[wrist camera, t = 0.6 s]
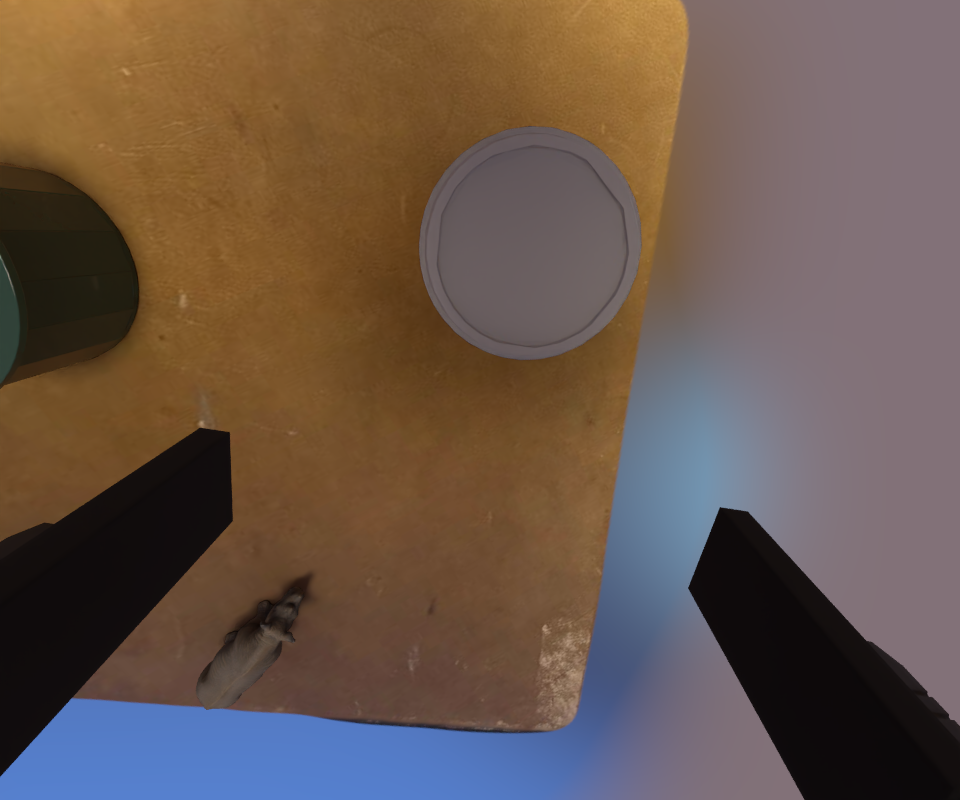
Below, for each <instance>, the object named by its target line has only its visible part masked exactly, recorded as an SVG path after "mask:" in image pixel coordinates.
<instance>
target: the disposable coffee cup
mask: <svg viewBox="0 0 960 800" xmlns="http://www.w3.org/2000/svg"><path fill="white" fill-rule="evenodd" d="M640 252H641V222H640V218H639V214H638V209H637V205H636V200H635V198H634V196H633V194H632V192H631V189H630V187H629V185H628V183H627V181H626V179H625V178H624V176H623V175H622V173H621V172H620V170H619V169H618V167H617V166H616V165H615V164H614V163H613V162H612V161H611V160H610V159H609V158H608V157H607V156H606V155H605V154H604V153H603V152H602V151H601V150H600V149H599V148H597V147H596V146H595V145H593V144H592V143H590V142H589V141H587V140H585V139H583V138H581V137H579V136H577V135H575V134H572V133H569V132H566V131H563V130H560V129H556V128H550V127H535V126H528V127H521V128H514V129H507V130H504V131H502V132H499V133H497V134H494V135H492V136H490V137H487V138H485V139H482V140H481V141H479V142H478V143H476V144H475V145H473V146H472V147H470V148H469V149H467V150H466V151H465V152H463V153H462V154H461V155H460V156H459V157H458V158H457V159H456V160H455V161H454V162H453V163H452V164H451V165H450V166H449V167H448V168H447V169H446V171H445V172H444V174H443V175H442V177H441V178H440V180H439V181H438V183H437V184H436V186H435V187H434V189H433V191H432V194H431V196H430V199H429V201H428V203H427V206H426V208H425V211H424V215H423V220H422V224H421V230H420V241H419V254H420V265H421V270H422V275H423V280H424V283H425V285H426V288H427V291H428V294H429V296H430V298H431V300H432V302H433V304H434V306H435V307H436V309H437V310H438V312H439V314H440V315H441V317H442V318H443V319H444V320H445V322H446V323H447V324H448V325H449V326H450V327H451V328H452V329H453V330H454V331H455V332H456V333H457V334H458V335H460V336H461V337H462V338H463V339H465V340H466V341H467V342H469V343H470V344H472V345H474V346H476V347H478V348H480V349H482V350H484V351H486V352H488V353H491V354H494V355H497V356H500V357H504V358H511V359H518V360H531V359H542V358H547V357H552V356H557V355H560V354H562V353H565V352H567V351H569V350H571V349H574V348H576V347H578V346H580V345H582V344H584V343H585V342H586V341H588V340H589V339H591V338H592V337H593V336H595V335H596V334H597V333H599V332H600V331H601V330H602V329H603V328H604V327H605V326H606V325H607V324H608V323H609V322H610V321H611V320H612V319H613V318H614V317H615V315H616V313H617V312H618V310H619V309H620V307H621V306H622V304H623V303H624V301H625V299H626V298H627V296H628V294H629V292H630V289H631V287H632V284H633V282H634V279H635V277H636V274H637V271H638V265H639V258H640Z"/></svg>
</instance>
